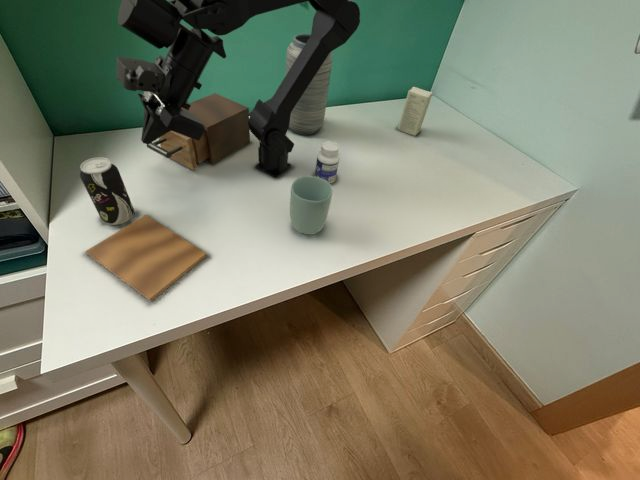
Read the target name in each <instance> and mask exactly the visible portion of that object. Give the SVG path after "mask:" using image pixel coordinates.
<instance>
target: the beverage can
mask: <svg viewBox="0 0 640 480" xmlns="http://www.w3.org/2000/svg"><path fill="white" fill-rule="evenodd" d="M79 169H80V172H79V178H80V180H81V182H82V184H83V186H84V188H85V190H86V192H87V194H88V196H89V197H90V200H91V201H92V204H93V206H94V208H95V210H96V211H97V214H98V216H99V218H100V220H101V221H102V222H103V223H105V224H106V225H113V226H115V225H122V224H124V223H126V222H129V221H130V220H131V219H132V218H133V216H134V215H135V209H134V206H133V203H132V201H131V199H130V196H129V193H128V191H127V188H126V186H125V183H124V180H123V178H122V175H121V172H120V170H119V168H118V167H117V166H116V165H115V164H113V162H112V161H111V159H109V158H106V157H100V156H99V157H92V158H91V157H90V158H88V159H86V160H84V161H83V162H82V163H81V164H80V167H79Z"/></svg>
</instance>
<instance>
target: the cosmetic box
mask: <svg viewBox="0 0 640 480" xmlns="http://www.w3.org/2000/svg"><path fill="white" fill-rule="evenodd" d="M432 96H433V92H432V91H428V90H425V89H422V88H421V87H420V88H419V87H416V86H412V87H411V88H410V89H409V90H408V92H407V95H406V98H405V102H404V105H403V109H402V113H401V116H400V119H399V123H398V126H397V130H398V131H400V132H403V133H406V134H409V135H410V136H414V137H416V136H417V135H418V134H419V133H420V131H421V129H422V125H423V123H424V120H425V117H426V114H427V111H428V108H429V105H430V103H431V99H432Z"/></svg>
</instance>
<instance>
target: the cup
mask: <svg viewBox="0 0 640 480" xmlns="http://www.w3.org/2000/svg"><path fill="white" fill-rule="evenodd" d="M289 197H290V198H289V219H290V223H291V225H292V227H293V228H294V229H295V231H297V232H298V233H300V234H304V235H315V234H318V233H319V232H320V231H321V230H322V229H323V228H324V226H325V224H326V222H327V220H328V217H329V213H330V208H331V204H332V198H333V187H332V184H331V183H328V182H327V181H326V180H324V179H322V178H319V177H315V175H303V176H300V177H298V178H296V179H295V180H293V182H292V184H291V187H290V196H289Z"/></svg>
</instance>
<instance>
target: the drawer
mask: <svg viewBox="0 0 640 480" xmlns="http://www.w3.org/2000/svg"><path fill="white" fill-rule="evenodd" d="M159 145H160V146H159ZM146 147H147V148H148V149H150V150H151V151H152V152H155V153H157V154H159V155H160V156H162V157H164V158H166V159H172V160H174V161H175V162H177V163H179V164H181V165H183V166H184V167H186V168H188V169H190V170H192V171H194V170H196V169H197V168H198V165H197V163H198V164H200V163H202V162H204V161H205V160H206V159H208V158H209V150H208V143H207V136H206V129H205V132H204V134H203V136H202V138H201V139H200V140H199V141H198V140H195V139H192V138H190V137H187V136H185V135H182V134H179V133H177V132H174V131H170V132H168V133H166V134H164V135H163V136H161V137H160V138H158V139H157V140H155V141H153V142H152V143H150V144H146Z"/></svg>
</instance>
